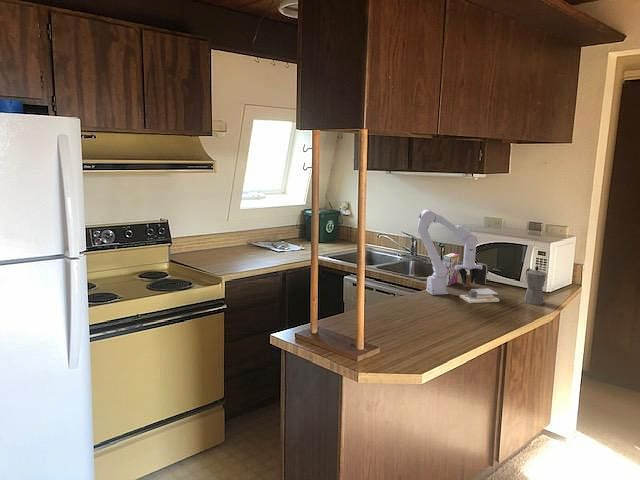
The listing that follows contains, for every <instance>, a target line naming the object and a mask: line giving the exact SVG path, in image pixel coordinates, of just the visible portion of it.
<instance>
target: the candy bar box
mask: <svg viewBox="0 0 640 480" xmlns="http://www.w3.org/2000/svg"><path fill="white" fill-rule="evenodd" d="M459 262H460V253H459V254H458V253H448V254H446V255H443V256H442V263H443V264H444V265H445V266H446V268H447V270H448V272H447V274H446V275H447V278H446V287H450V286H452V285H455V284H457V283H458V275H459V270H456V269H455V265H460V264H459Z"/></svg>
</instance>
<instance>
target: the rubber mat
mask: <svg viewBox="0 0 640 480" xmlns="http://www.w3.org/2000/svg"><path fill="white" fill-rule="evenodd" d="M471 290H474V291H476V292H477V294H490V295H492V296H499V292H497V291H494V290H492V289H491V288H471V289H470V291H471Z"/></svg>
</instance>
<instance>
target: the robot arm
mask: <svg viewBox="0 0 640 480" xmlns="http://www.w3.org/2000/svg"><path fill="white" fill-rule="evenodd" d="M433 223H435V224H437V223H438V224H440V225H442V226H443V227H445V228H447V229H448V230H450V231H451V235H453V236H454V237H456V238H457V239H458V240H460V241H462V242H464V247H463V260H462V264H459V265H455V269H456V270H458V273H459V274H460V278H461V282H462V284H464V283H466V275H467V274H468V271H469V275H472V278H471V284H473V283H474V278H475V276H476V274H477V273H478V270H477V269H482V265H476V253H477V252H476V251H477V247H476V246H477V245H478V243H479V240H478V238H477V236H476V235H475V234H474V233H472V231H470V230H467V229H466V228H464V226H463V225H460V224H457V225H455V224H453V223H452V222H451V221H449V220H448V219H447V218H445V217H444V216H442V215H441V214H439V213H438V212H435V211H432V210H431V209H429V208H424V209H423V210H421V212H420V214H418V222H417V227H416V230H417V232H418V234H419V236H420V239H421V241H422V244H423V246H424V248H425V251H426V252H427V254H428V257H429V259H430V261H431V264H432V270H433V273H432V275H429V276H427V279H426V289H425V292H427V293H428V294H430V295H433V296H435V295H449V292H447V286H446V278H447V275H446V274H447V272H448V270H447V268H446V266H445V265H444V264H443V260H442V259H441V257H440V255H439V253H438V251H437V249H436V246H435V244H434V242H433V239H432V238H431V235H430V233H429V228H430V226H431V225H432V224H433ZM467 270H468V271H467Z"/></svg>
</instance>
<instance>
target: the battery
mask: <svg viewBox="0 0 640 480" xmlns="http://www.w3.org/2000/svg"><path fill="white" fill-rule="evenodd" d="M475 265H482V269H477V270H478V273H477V274H476V276H475V278H474V281H473V283H475V284H478V285H487V275H488V274H489V265H488V264H487V263H481V262H477V263H475Z"/></svg>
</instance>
